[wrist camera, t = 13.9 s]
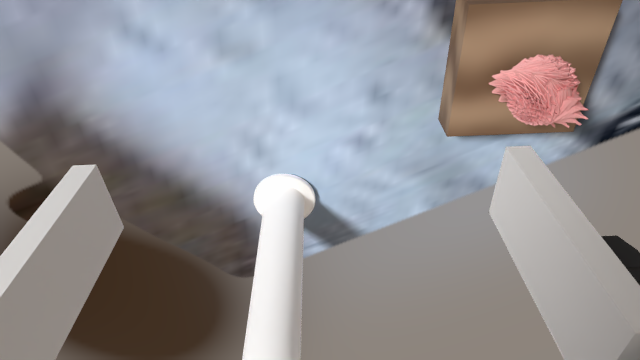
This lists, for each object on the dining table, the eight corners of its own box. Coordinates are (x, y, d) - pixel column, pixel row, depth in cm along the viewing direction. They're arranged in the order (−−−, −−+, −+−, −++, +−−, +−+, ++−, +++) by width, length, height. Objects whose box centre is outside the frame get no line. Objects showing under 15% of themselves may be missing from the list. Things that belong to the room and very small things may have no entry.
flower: (615, 42, 29) (575, 109, 28) (607, 102, 35) (575, 158, 35) (504, 23, 34) (469, 80, 33) (515, 79, 40) (486, 128, 40)
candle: (266, 164, 46) (231, 395, 26) (325, 185, 48) (335, 416, 28) (246, 209, 50) (201, 441, 30) (301, 226, 51) (294, 456, 31)
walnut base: (455, -8, 36) (469, 4, 33) (595, -14, 36) (623, -2, 33) (437, 116, 43) (447, 136, 40) (553, 111, 43) (573, 131, 40)
